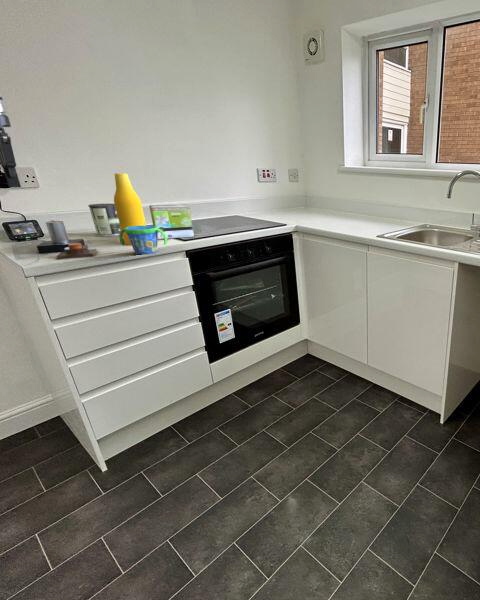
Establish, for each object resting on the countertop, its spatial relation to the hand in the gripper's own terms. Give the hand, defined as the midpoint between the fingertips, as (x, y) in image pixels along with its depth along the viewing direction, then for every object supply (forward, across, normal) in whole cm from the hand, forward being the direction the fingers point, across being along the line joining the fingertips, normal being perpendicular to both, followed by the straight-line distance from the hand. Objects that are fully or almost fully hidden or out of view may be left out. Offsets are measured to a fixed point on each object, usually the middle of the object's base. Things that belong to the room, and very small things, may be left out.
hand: (15, 187), depth 125 cm
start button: (+21, +14, +8) cm, 27 cm away
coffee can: (+24, -21, +32) cm, 45 cm away
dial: (+21, 0, +8) cm, 23 cm away
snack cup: (+24, +30, +25) cm, 45 cm away
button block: (+24, +14, +8) cm, 29 cm away
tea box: (+24, +6, +48) cm, 54 cm away
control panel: (+24, 0, +8) cm, 25 cm away
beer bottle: (+24, +8, +31) cm, 40 cm away
